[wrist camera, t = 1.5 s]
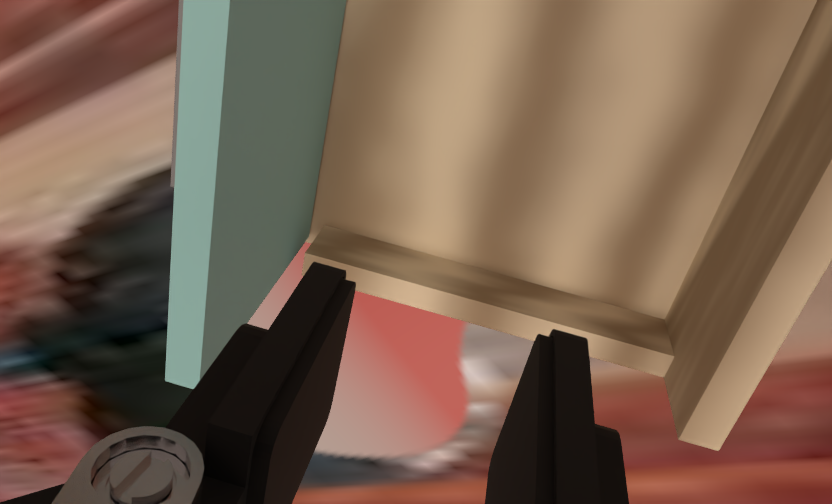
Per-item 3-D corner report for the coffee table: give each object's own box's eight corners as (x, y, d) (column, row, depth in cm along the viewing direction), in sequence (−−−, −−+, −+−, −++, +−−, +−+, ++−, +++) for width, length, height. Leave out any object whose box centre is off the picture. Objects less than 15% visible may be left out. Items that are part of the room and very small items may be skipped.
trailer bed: (884, -109, 26) (1051, -112, 17) (677, 315, 36) (718, 451, 27) (380, -231, 27) (299, -291, 19) (310, 213, 37) (235, 312, 28)
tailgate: (382, -223, 25) (254, -313, 14) (308, 236, 34) (198, 390, 23) (328, -236, 25) (162, -336, 14) (269, 225, 34) (142, 374, 23)
